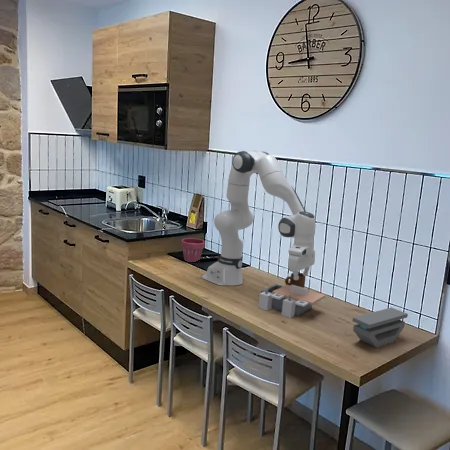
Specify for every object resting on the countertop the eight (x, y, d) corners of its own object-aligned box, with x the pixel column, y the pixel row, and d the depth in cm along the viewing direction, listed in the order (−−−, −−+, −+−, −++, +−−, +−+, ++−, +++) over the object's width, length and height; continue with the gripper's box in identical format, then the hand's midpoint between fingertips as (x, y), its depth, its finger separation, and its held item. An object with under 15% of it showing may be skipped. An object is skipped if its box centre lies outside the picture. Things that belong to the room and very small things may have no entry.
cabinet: (255, 307, 222) (257, 287, 220) (274, 297, 236) (276, 279, 234) (293, 319, 210) (296, 298, 209) (311, 308, 225) (313, 289, 223)
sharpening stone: (365, 351, 183) (369, 324, 181) (349, 343, 189) (352, 317, 187) (404, 338, 198) (407, 313, 196) (387, 331, 204) (391, 307, 202)
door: (267, 296, 217) (268, 287, 216) (286, 287, 231) (287, 278, 231) (307, 307, 205) (308, 298, 205) (325, 297, 220) (326, 288, 219)
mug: (289, 296, 239) (290, 278, 238) (279, 291, 246) (281, 274, 244) (306, 293, 246) (308, 276, 244) (297, 289, 252) (298, 271, 250)
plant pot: (205, 264, 286) (207, 243, 284) (182, 264, 282) (184, 243, 280) (200, 257, 299) (201, 237, 297) (178, 258, 295) (179, 237, 293)
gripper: (307, 243, 226) (304, 271, 228) (286, 250, 209) (284, 280, 211) (319, 245, 222) (316, 274, 224) (299, 252, 205) (296, 283, 208)
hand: (300, 277), depth 218 cm, fingers open, 8 cm apart
